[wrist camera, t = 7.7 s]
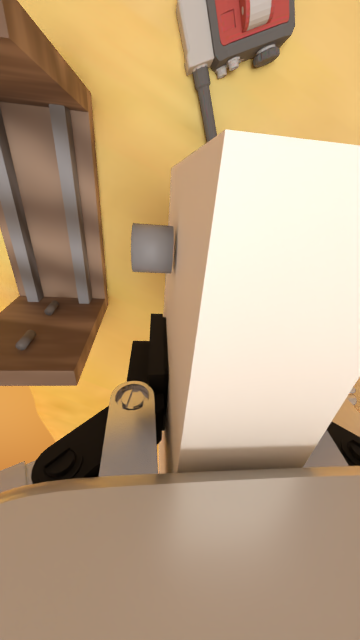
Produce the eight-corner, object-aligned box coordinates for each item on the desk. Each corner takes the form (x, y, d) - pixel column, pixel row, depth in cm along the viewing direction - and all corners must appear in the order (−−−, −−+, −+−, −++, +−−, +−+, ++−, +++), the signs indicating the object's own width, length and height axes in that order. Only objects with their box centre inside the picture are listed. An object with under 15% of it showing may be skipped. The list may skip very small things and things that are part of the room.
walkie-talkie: (136, -171, 15) (205, 176, 26) (129, -284, 12) (213, 176, 22) (271, -234, 15) (286, 149, 25) (310, -375, 11) (309, 144, 21)
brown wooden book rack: (108, 304, 32) (76, 385, 20) (28, 302, 31) (-58, 385, 19) (90, 92, 21) (-4, -25, 9) (-32, 77, 20) (-335, -82, 8)
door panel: (193, 404, 17) (223, 593, 9) (142, 404, 17) (129, 602, 9) (231, 174, 10) (493, 162, 2) (143, 165, 9) (81, 111, 2)
